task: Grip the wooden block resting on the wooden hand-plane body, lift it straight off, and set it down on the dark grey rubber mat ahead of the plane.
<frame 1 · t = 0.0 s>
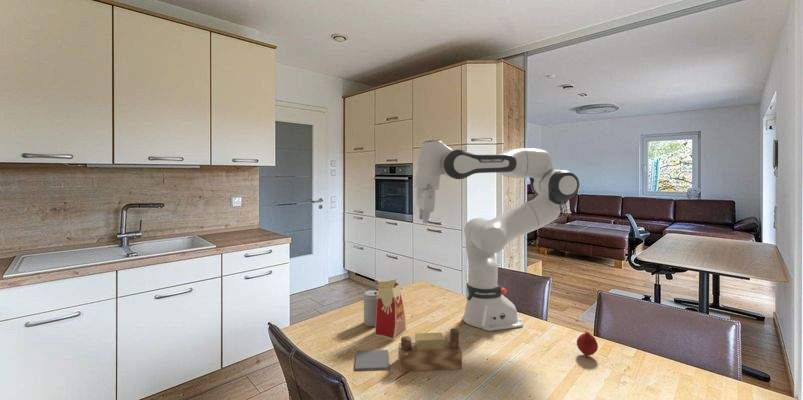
hand: (423, 221, 132), 39 cm above the table, tool pointing down, fingers open, 8 cm apart
wooden block: (429, 347, 106), point 5 cm above the table, touching plane body
beverage can: (372, 324, 134), on the table
mat: (372, 360, 108), on the table
plane body: (429, 363, 107), on the table
milk carton: (389, 333, 127), on the table
onion: (586, 356, 112), on the table
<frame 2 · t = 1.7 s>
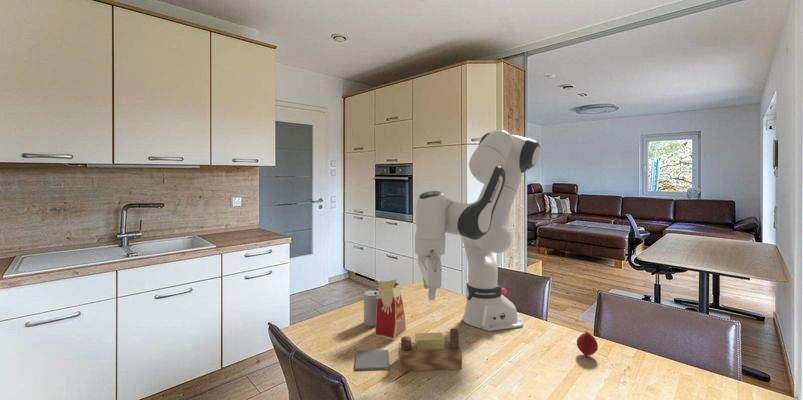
hand: (428, 293, 105), 22 cm above the table, tool pointing down, fingers open, 8 cm apart
nothing on the table moved.
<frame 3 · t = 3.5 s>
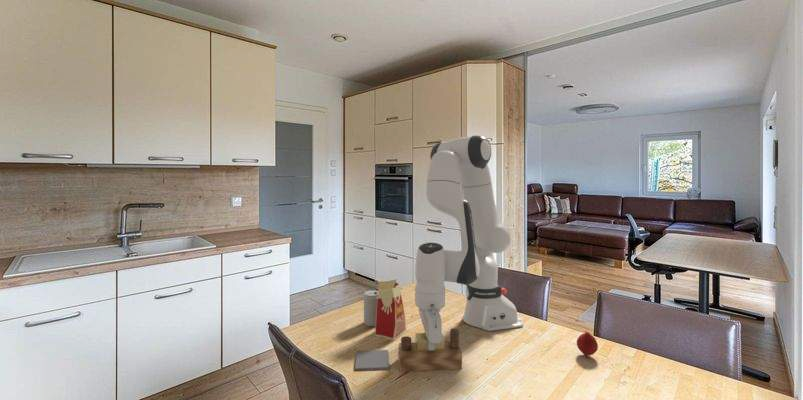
hand: (429, 343, 106), 6 cm above the table, tool pointing down, fingers closed on wooden block, 5 cm apart
wooden block: (429, 347, 106), point 5 cm above the table, touching gripper, plane body
everything else where it was.
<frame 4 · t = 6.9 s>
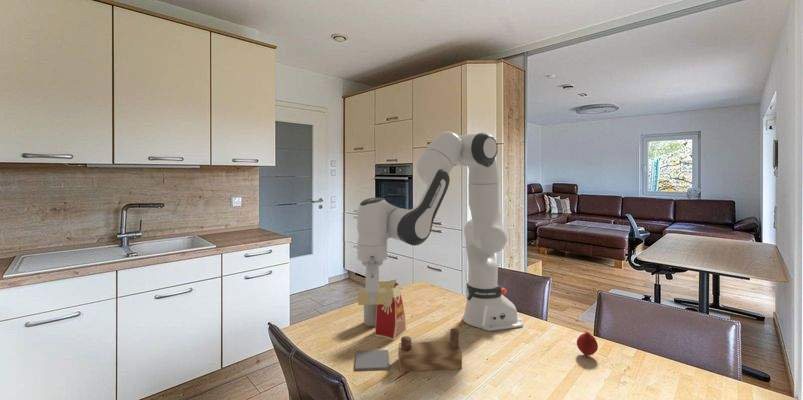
hand: (372, 298, 107), 19 cm above the table, tool pointing down, fingers closed on wooden block, 4 cm apart
wooden block: (372, 301, 107), point 18 cm above the table, touching gripper
everything else where it was.
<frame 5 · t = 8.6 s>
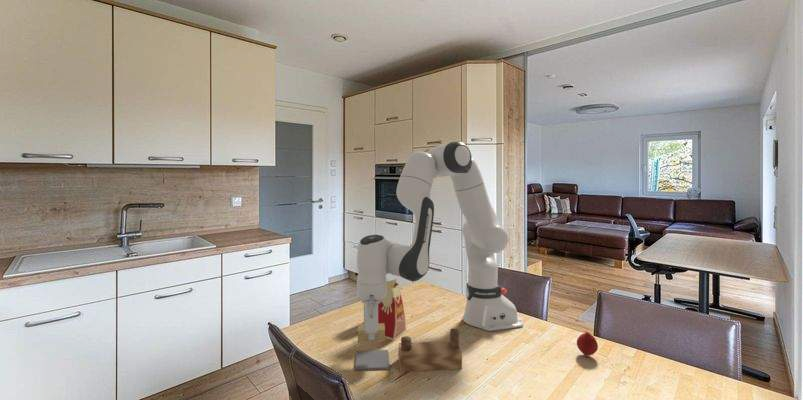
hand: (371, 334, 108), 8 cm above the table, tool pointing down, fingers closed on wooden block, 4 cm apart
wooden block: (371, 337, 108), point 7 cm above the table, touching gripper
everything else where it was.
when the fingers open (3 cm above the table, at t = 10.0 s): wooden block drops 2 cm, resting on mat.
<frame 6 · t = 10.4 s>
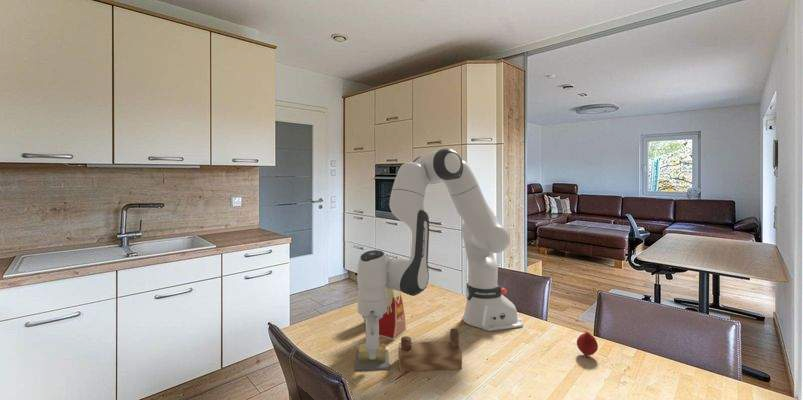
hand: (372, 349, 108), 3 cm above the table, tool pointing down, fingers open, 8 cm apart
wooden block: (372, 358, 108), point 1 cm above the table, touching mat
everything else where it was.
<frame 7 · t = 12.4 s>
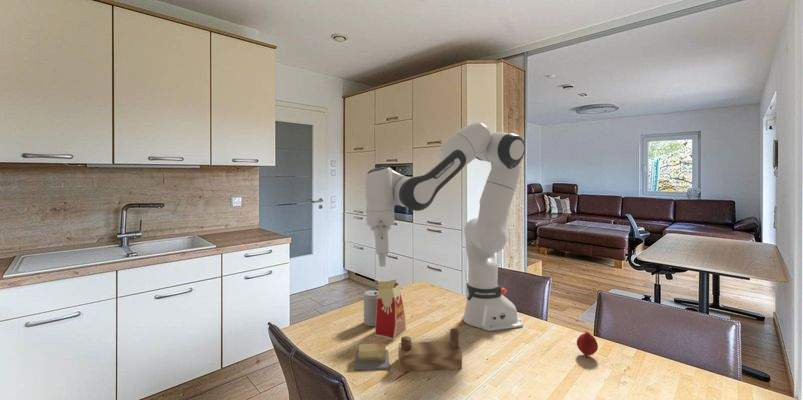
hand: (381, 261, 113), 29 cm above the table, tool pointing down, fingers open, 8 cm apart
nothing on the table moved.
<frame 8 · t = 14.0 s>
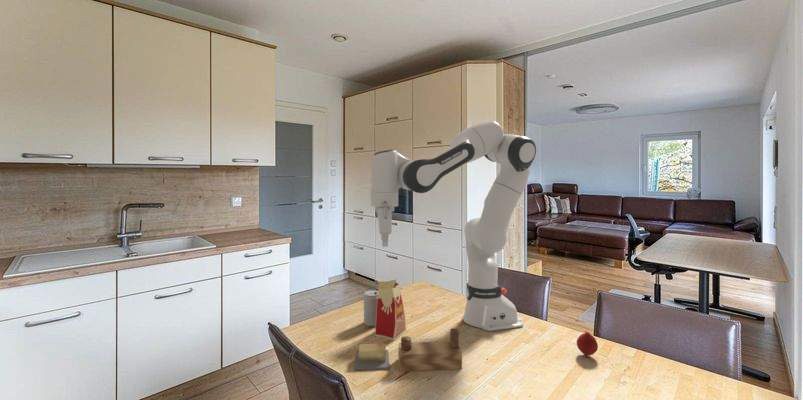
hand: (384, 243, 116), 34 cm above the table, tool pointing down, fingers open, 8 cm apart
nothing on the table moved.
at the end: wooden block inside the target area on the mat (0.1 cm from its centre), point 0.6 cm above the mat's base; wooden block touching mat; the gripper is holding nothing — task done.
